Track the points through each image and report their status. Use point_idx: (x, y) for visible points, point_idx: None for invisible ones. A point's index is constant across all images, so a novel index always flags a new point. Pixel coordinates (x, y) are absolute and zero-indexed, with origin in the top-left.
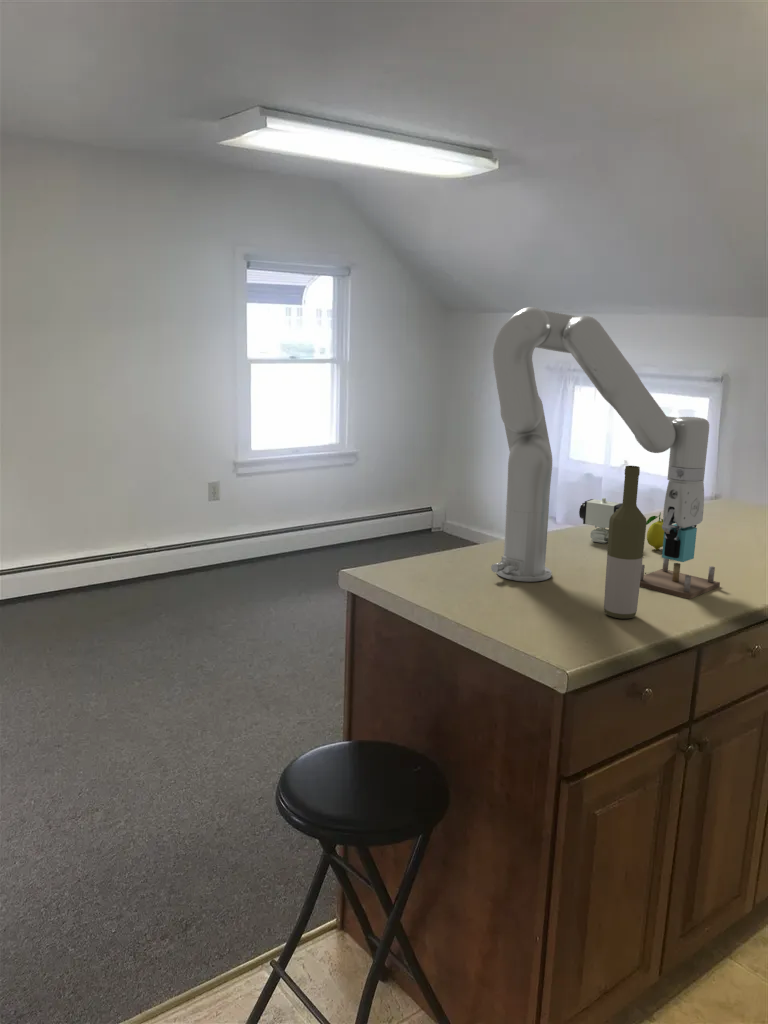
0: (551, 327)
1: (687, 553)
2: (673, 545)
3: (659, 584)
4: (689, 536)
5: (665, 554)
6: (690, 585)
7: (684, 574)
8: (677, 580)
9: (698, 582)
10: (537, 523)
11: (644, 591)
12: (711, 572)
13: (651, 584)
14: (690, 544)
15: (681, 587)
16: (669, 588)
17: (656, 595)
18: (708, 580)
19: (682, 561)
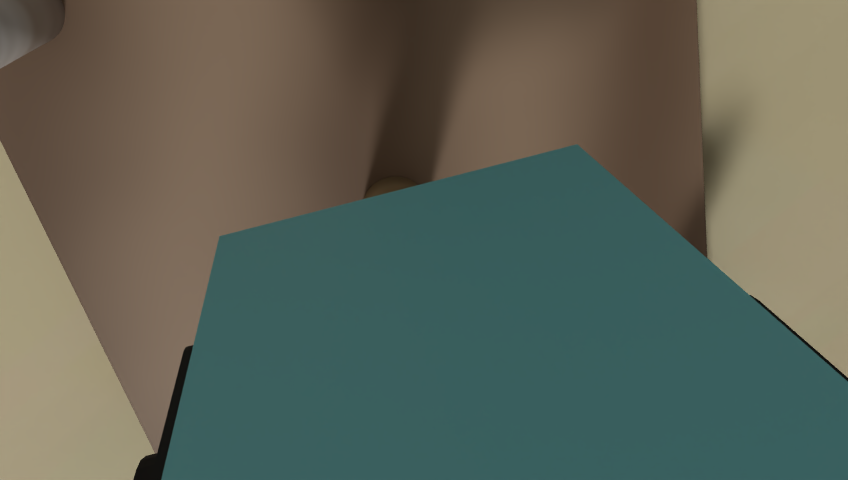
0: None
1: (477, 227)
2: (844, 378)
3: (634, 185)
4: (591, 452)
5: None
6: (379, 20)
7: (118, 331)
8: (404, 182)
9: (194, 62)
10: None
11: (780, 171)
12: (5, 5)
13: (693, 215)
14: (424, 333)
15: (531, 13)
16: (666, 47)
17: (805, 38)
18: (56, 20)
19: (579, 155)
